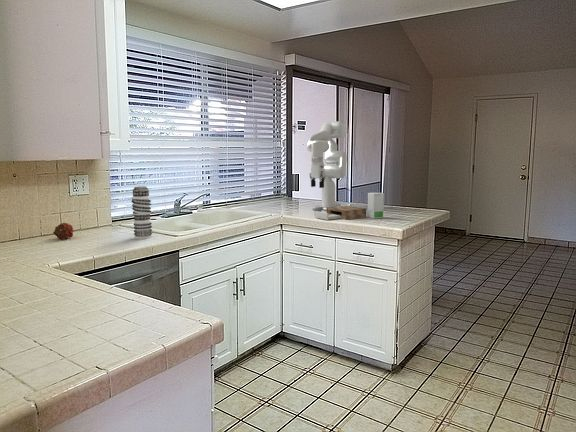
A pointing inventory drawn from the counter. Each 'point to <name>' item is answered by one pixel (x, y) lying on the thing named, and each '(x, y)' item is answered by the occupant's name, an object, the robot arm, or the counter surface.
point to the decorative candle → (141, 212)
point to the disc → (317, 208)
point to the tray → (326, 215)
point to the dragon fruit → (63, 231)
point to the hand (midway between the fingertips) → (317, 187)
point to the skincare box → (375, 205)
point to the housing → (347, 212)
